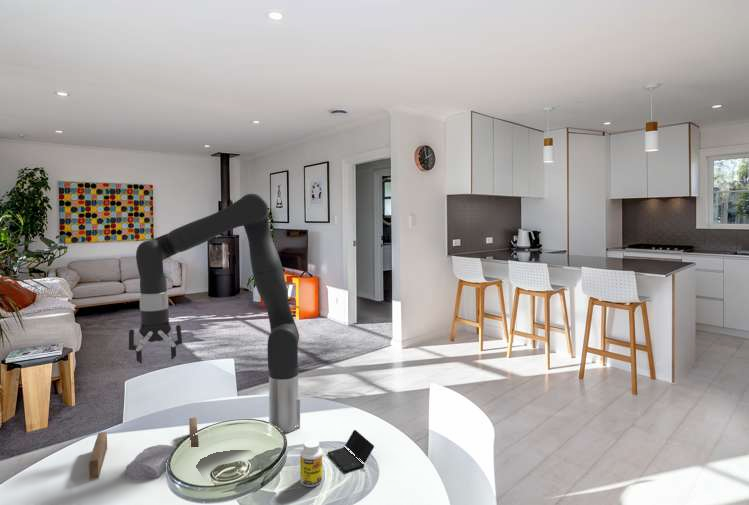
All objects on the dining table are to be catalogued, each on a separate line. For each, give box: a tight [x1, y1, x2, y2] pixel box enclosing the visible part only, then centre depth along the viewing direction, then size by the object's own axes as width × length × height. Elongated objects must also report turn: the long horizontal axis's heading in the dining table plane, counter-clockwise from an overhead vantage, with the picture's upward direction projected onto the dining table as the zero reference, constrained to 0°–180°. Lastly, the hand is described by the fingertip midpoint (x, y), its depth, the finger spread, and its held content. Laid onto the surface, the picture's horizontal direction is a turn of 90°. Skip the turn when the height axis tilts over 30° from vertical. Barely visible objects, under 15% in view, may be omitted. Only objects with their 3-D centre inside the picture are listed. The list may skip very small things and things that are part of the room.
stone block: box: [125, 444, 176, 480], centre depth 120 cm, size 12×5×10 cm
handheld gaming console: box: [327, 429, 375, 474], centre depth 125 cm, size 12×7×10 cm
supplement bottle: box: [299, 439, 323, 488], centre depth 114 cm, size 6×6×10 cm
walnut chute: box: [88, 417, 200, 481], centre depth 126 cm, size 26×16×5 cm, turn 114°
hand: (156, 360), depth 133 cm, fingers open, 8 cm apart
